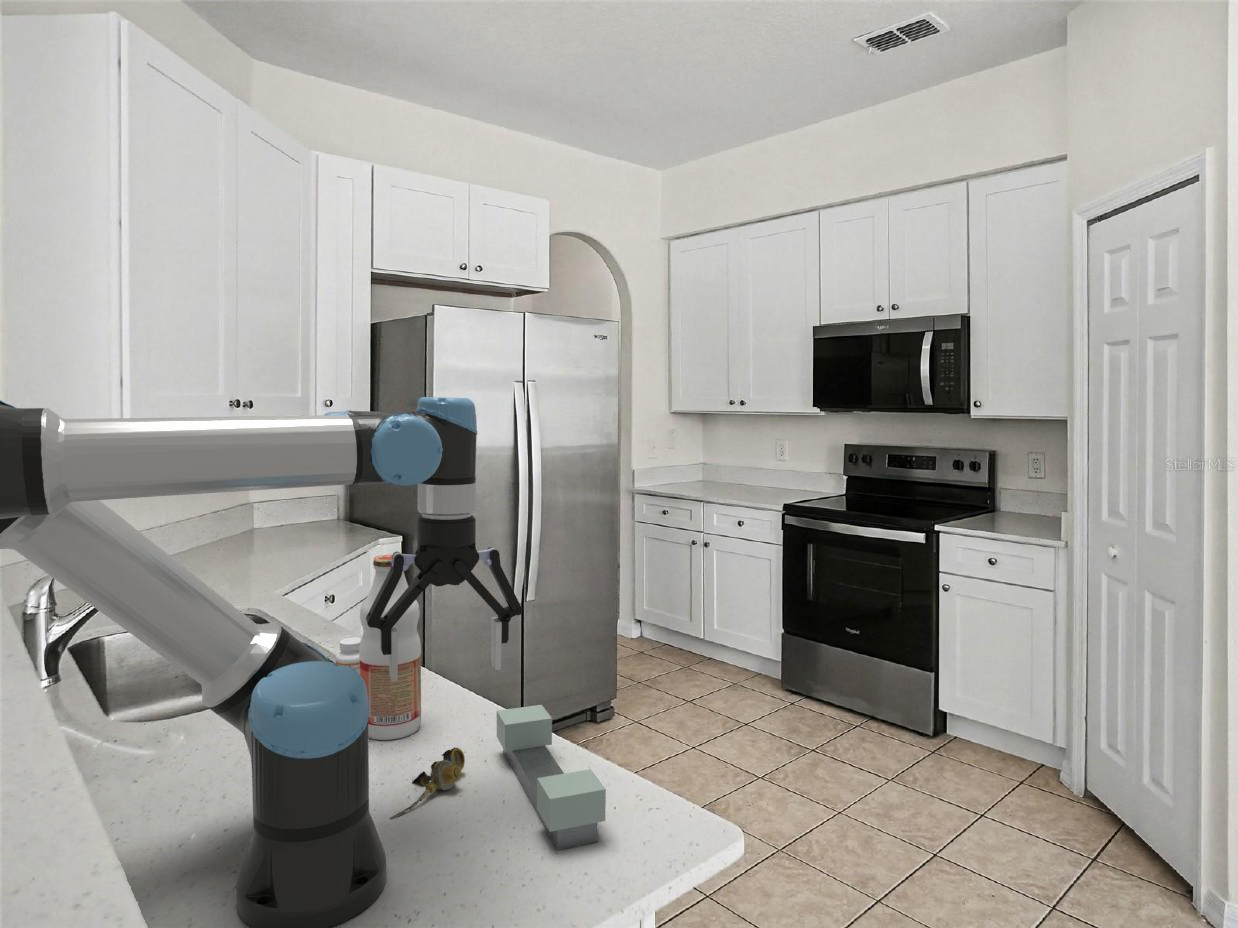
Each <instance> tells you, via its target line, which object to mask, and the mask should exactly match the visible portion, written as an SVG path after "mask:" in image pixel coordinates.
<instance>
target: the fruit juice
mask: <svg viewBox="0 0 1238 928" xmlns="http://www.w3.org/2000/svg"><path fill="white" fill-rule="evenodd" d="M392 555H393V554H381V555H378V556H375V557H374V558H373V562H372V564H373V569H374V570H375V574H374V578H373V582H372V585H371V588H370V591H369V593H368V595H367V597H365V599H364V601H362V602H363V603H362V604H361V606H360V609H359V610H360V611H359V618H360V619H359V621H360V624H361V627H362V630H363V631H362V635H361V637H360V638H361V641H360V651H359V659H360V676H361V677H362V678H363V680H364V682H365V685H366V688H367V696H368V699H369V705H370V707H369V709H370V715H369V718H368V739H372V740H379V741H381V740H382V741H388V740H389V741H391V740H392V741H393V740H397V739H401V738H402V739H403V738H406V737H408V736H411V735H412V734H414V733H416V732H417V731H418V730H419V728H420V727H421V723H422V674H421V673H422V665H421V663H422V660H421V659H422V650H421V649H422V648H421V647H422V646H421V645H422V644H421V638H420V634H419V632H418V629H417V626H418V622H419V619H420V613H421V612H420V605H419V602H418V601H417V599H416V600H415V601H414V602H413V603H412V605H411V606H410V607H409V608H408V609H407V611H406V612H405V613H404V614H403V615H402V617H401V618H400V619H399V620H398V621H397V623H396V624H395V625H394V626H396V629H397V631H398V681H391V678H390V675H389V655H383V653H382V651H381V630H380V629H378V628H370V627H369V626H368V624H367V621H366V616H367V614H368V612H369V610H370V608H371V606H372V604H373V603H374V601H375V599H376V597H377V595H378V593H379V591H380V589H381V587H382V585H383V583H384V581H385V579H386V577H387V575H388V573H389V571H390V569H391V562H392ZM408 587H409V584H408V582H407V578H406V574H405V571H403V572H402V575H401V578H400V580H399V582H398V584H397V586H396V588H395V590H394V592H393V594H392V596H391V598H390V600H389V602H388V604H387V606H386V608H385V610H384V612H383V614H382V616H381V617H384V616H385V614H386V613H387V612H388V611H389V610H390V608H391V607H392V606H393V605H394V604H395V602H396V601H397V600H398V599H399V598H400V596H401V595H402V594H403V593H404V592H405V590H406V589H407V588H408Z"/></svg>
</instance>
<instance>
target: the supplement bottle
mask: <svg viewBox="0 0 1238 928" xmlns="http://www.w3.org/2000/svg"><path fill="white" fill-rule="evenodd" d="M361 638H362V637H356V636H355V637H347V638H342V639H341V640H340V641H339V652H338V653H337V654H336V655H335V663H336V664H337V666H341V665H344V666H347V667H349V668H351V669H353V670H355V671H356V672H357V673H358V674H359V675H360V659H359V651H360V641H361Z"/></svg>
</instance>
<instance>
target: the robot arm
mask: <svg viewBox="0 0 1238 928" xmlns="http://www.w3.org/2000/svg"><path fill="white" fill-rule="evenodd" d="M477 429H478V426H477V413H476V405H475V403H474V402H473V400H472V399H470V398H468V397H442V396H441V397H436V396H433V397H431V396H423V397H420V398H418V401H417V407H416V409H415V411H405V412H402V411H401V412H399V411H397V412H395V411H370V410H369V411H366V410H365V411H360V410H357V411H356V410H345V411H344V410H343V411H342V410H339V411H327V412H326V413H324V414H322V415H268V416H267V415H265V416H263V415H258V416H257V415H255V416H253V415H252V416H198V417H197V416H195V417H192V416H191V417H189V416H188V417H133V418H132V417H127V418H126V417H125V418H124V417H121V418H120V417H119V418H112V417H111V418H63V417H62V416H61V415H59V414H57V413H56V412H54V411H53V410H51V409H50V407H49V408H48V407H43V408H42V407H35V408H34V407H33V408H32V407H31V408H30V407H28V408H25V407H24V408H23V407H17V406H14V405H12V404H9V403H6V402H5V401H3V400H2V399H0V550H7V549H8V550H13V551H15V552H16V553H18V554H20V555H21V556H22V557H24V558H25V559H26V560H28V562H30V563H32V564H34V566H36V567H38V568H39V569H41V571H43V572H44V573H46V574H48V575H49V576H50V577H52V578H53V579H54V580H55V581H57V582H58V583H60V584H61V585H63V586H64V587H65V588H67V589H68V590H70V591H71V592H72V593H74V594H75V595H76V596H77V597H79V598H81V599H82V600H84V602H86V603H87V604H88V605H91V606H92V607H93V608H95V609H96V610H97V611H99V612H100V613H101V614H103V615H104V616H105V617H106V618H108V619H110V620H111V621H113V622H114V623H115V624H117V625H118V626H119V627H121V628H122V629H123V630H125V631H126V632H128V633H129V634H130V635H132V636H133V637H135V638H136V639H137V640H139V641H140V642H142V643H143V644H144V645H146V646H147V647H148V648H150V649H151V650H152V651H154V652H156V654H158V655H159V656H161V657H163V658H164V659H165V660H167V661H168V662H169V663H171V664H172V665H173V666H175V667H177V668H178V669H179V670H180V671H182V672H183V673H184V674H186V675H187V676H189V677H190V678H192V679H193V680H194V681H195V682H197V683H198V684H199V685H201V703H202V704H203V706H205V707H206V708H207V709H209V710H211V711H212V712H213V713H214V714H216V716H219V717H220V718H221V719H223V720H225V722H227V723H229V724H230V725H231V726H233V727H234V728H236V730H238V731H239V732H241V734H243V735H244V740H245V742H246V745H247V748H248V749H247V750H248V753H249V756H250V763H251V765H250V766H251V777H252V778H251V779H252V780H251V786H252V793H251V794H252V813H253V814H252V819H253V820H252V823H253V825H252V827H253V829H252V830H253V831H252V834H251V837H250V840H249V843H248V846H247V849H246V852H245V855H244V859H243V862H242V865H241V867H240V872H239V874H238V877H237V881H236V886H235V887H236V891H235V892H236V911H237V914H238V915H239V917H240V919H241V920H242V921H243V922H244V923H245V924H246V925H247V926H249V927H251V926H252V927H251V928H253V927H255V928H331V927H334V926H336V925H339V924H341V923H344V922H345V921H347V920H350V919H352V918H353V917H355V916H357V915H358V914H360V913H361V912H364V910H365V909H367V908H368V907H369V906H371V905H372V904H373V903H374V902H375V901H376V899H378V897H379V896H380V895H381V894H382V892H383V890H384V888H385V885H386V882H387V855H386V853H385V849H384V845H383V844H382V842H381V838H380V836H379V834H378V831H377V829H376V828H377V827H376V826H375V825H376V824H375V823H374V820H373V817H372V814H371V813H370V798H369V797H370V787H369V786H370V780H369V779H370V776H369V775H370V773H369V772H370V770H369V766H370V765H369V764H370V763H369V760H370V759H369V737H368V718H369V715H370V709H369V707H370V705H369V699H368V696H367V688H366V685H365V682H364V680H363V678H362V677H361V676H360V675H359V674H358V673H357V672H356V671H355V670H353V669H351V668H349V667H347V666H344V665H341V666H337V664H336V662H331V661H330V660H329V659H328V657H326V656H325V654H323V652H321V650H319V649H317V648H316V647H315V646H313V645H310V644H308V643H306V642H303V641H300V640H299V639H298V638H297V637H295V636H294V635H293V634H291V633H290V632H289V631H288V630H287V629H285V628H284V627H283V626H282V625H280V624H278V623H277V622H269V623H261V624H260V623H255V622H254V621H253V620H252V619H251V618H250V617H248V616H247V615H245V613H243V612H242V611H240V610H239V609H238V608H237V607H235V606H234V605H233V604H232V603H230V601H228V600H227V599H225V597H223V596H221V595H220V594H219V593H217V592H216V591H215V590H214V589H212V588H211V587H210V586H209V585H207V584H206V583H205V582H204V581H203V580H202V579H200V578H199V577H197V576H196V575H195V574H194V573H193V572H191V571H190V570H188V568H186V567H185V566H183V565H182V563H180V562H179V561H178V560H176V559H174V558H173V556H171V555H170V554H168V553H167V552H166V551H165V550H164V549H162V548H161V547H159V546H158V545H157V544H156V543H155V542H153V541H152V540H150V539H149V538H148V537H147V536H145V535H144V534H143V533H141V532H140V530H137V528H136V527H134V526H133V525H132V524H130V523H129V522H128V521H126V520H125V518H122V516H120V515H119V514H117V513H116V512H115V511H114V510H113V509H111V508H110V507H109V506H108V505H106V504H105V503H104V502H102V501H105V500H106V501H107V500H109V501H110V500H121V499H125V500H126V499H138V498H152V497H153V498H154V497H155V498H156V497H157V498H158V497H169V496H170V497H171V496H187V495H201V494H218V493H234V492H249V491H252V492H253V491H267V490H281V489H297V488H298V489H299V488H300V489H301V488H314V487H329V486H344V485H345V486H346V485H371V484H375V485H376V484H391V485H394V486H397V487H401V486H402V487H403V486H415V485H417V511H418V513H419V514H421V515H419V517H418V518H417V522H416V524H417V525H416V526H417V527H416V528H417V529H416V530H417V531H416V532H417V534H416V535H417V536H416V537H417V538H416V539H417V541H416V542H417V545H416V550H415V552H414V554H411V553H409V554H408V553H407V554H406V553H401V552H400V551H395V552H393V553H392V554H391V555H392V562H391V569H390V571H389V573H388V575H387V577H386V579H385V581H384V583H383V585H382V587H381V589H380V591H379V593H378V595H377V597H376V599H375V601H374V603H373V604H372V606H371V608H370V610H369V612H368V614H367V616H366V621H367V624H368V626H369V627H370V628H378V629H380V630H381V651H382V653H383V655H389V675H390V678H391V681H398V631H397V629H396V626H394V625H395V624H396V623H397V621H398V620H399V619H400V618H401V617H402V615H403V614H404V613H405V612H406V611H407V609H408V608H409V607H410V606H411V605H412V603H413V602H414V601H415V600H417V598H419V596H420V595H421V594H422V592H424V591H425V590H426V589H427V588H428V587H429V586H430V585H432V586H435V587H443V586H447V585H451V586H460V584H462V583H464V582H465V581H466V582H467V583H468V584H469V585H470V586H471V587H472V588H473V590H474V591H475V592H476V593H477V594H478V595H479V596H480V597H481V599H482V600H483V601H484V602H485V603H486V604H487V606H489V607H490V608H491V610H492V611H493V612H494V613H495V614H496V615H497V617H491V632H490V633H491V636H490V637H491V641H490V642H491V644H490V645H491V646H490V647H491V649H490V652H491V653H490V654H491V655H490V664H491V666H492V667H493V668H494V670H495V671H500V670H502V644H508V642H509V638H510V637H509V636H510V635H509V633H510V631H509V629H510V625H509V623H510V622H511V621H512V618H513V617H515V616H521V615H522V614H523V611H524V610H523V607H522V606H521V603H520V602H519V599H518V598H517V595H516V594H515V591H514V590H513V587H512V586H511V584H510V581H509V580H508V577H507V575H506V574H505V572H504V570H503V568H502V565H501V557H500V552H499V550H497V549H496V548H495V547H493V546H489V547H487V549H483V550H477V547H476V540H477V539H476V537H477V536H476V533H477V531H476V530H477V529H476V527H477V526H476V525H477V522H476V521H477V519H476V517H475V516H474V515H472V514H473V513H475V512H476V510H477V508H476V506H477V504H476V503H477V499H476V497H477V489H476V488H477V483H476V477H477V476H476V470H477V435H478V430H477ZM479 561H482V563H483V564H484V565H485V566H487V567H488V568H489V570H490V572H491V574H492V576H493V578H494V580H495V582H496V584H497V586H498V588H499V590H500V592H501V593H502V596H503V598H504V600H505V602H506V604H507V606H505V607H503V606H502V604H501V603H500V602H499V601H498V600H497V599H496V598H495V596H493V594H492V593H491V592H490V591H489V590H488V589H487V587H485V585H484V584H483V583H482V582H481V581H480V580H479V579H478V578H477V576H476V575H475V574H474V573H473V572H472V571H473V570H474V568H475V567H476V566H477V563H479ZM412 564H414V565H415V566H416V568H417V569H418V570H419V572H418V573H417V575H415V577H414V578H413V581H412V582H411V583H410V584H409V585H408V588H407V589H406V590H405V592H404V593H403V594H402V595H401V596H400V598H399V599H398V600H397V601H396V602H395V604H394V605H393V606H392V607H391V608H390V610H389V611H388V612H387V613H386V614H385V616H384V617H381V616H382V614H383V612H384V610H385V608H386V606H387V604H388V602H389V600H390V598H391V596H392V594H393V592H394V590H395V588H396V586H397V584H398V582H399V580H400V578H401V575H402V572H403V571H404V572H405V571H408V569H409V567H410V565H412Z"/></svg>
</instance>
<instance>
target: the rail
mask: <svg viewBox="0 0 1238 928" xmlns="http://www.w3.org/2000/svg"><path fill="white" fill-rule="evenodd" d="M502 752H503V755H504V756H505V757H506V759H507V761H508V763H509V765H510V767H511V769H512V771H513V772H514V774H515V775H516V778H517V779H518V781H519V783H520V784H521V786H522V788H523V790H524V792H525V794H526V795H527V798H528V799H529V801H530V804H532V807H533V808H534V810H535V812H536V814H537V815H538V817H539V819H540V821H541V823H542V824H543V826H544V828H545V830H546V833H548V836H549V838H550V839H551V841H552V843H553V844H554V846H555V848H556V850H557V851H561V850H567V849H570V848H575V847H580V846H586V845H591V844H596V843H598V826H599V825H598V823H599V822H598V823H592V824H587V825H582V826H577V827H572V828H567V829H561V830H556V831H551V832H550V831H549V830H548V828H547V826H546V824H545V822H544V821H543V819H542V817H541V815H540V813H539V812H538V810H537V778H541V777H547V776H553V775H559V774H565V773H564V771H563V769H562V768H561V767H560V765H559V764H558V762H557V761H556V759H555V757H554V756H553V755H552V753H551V752H550V750H549V749H548V748H547V745H546V746H540V747H533V748H526V749H520V750H513V751H507V752H505V751H504V749H503V748H502Z"/></svg>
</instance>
